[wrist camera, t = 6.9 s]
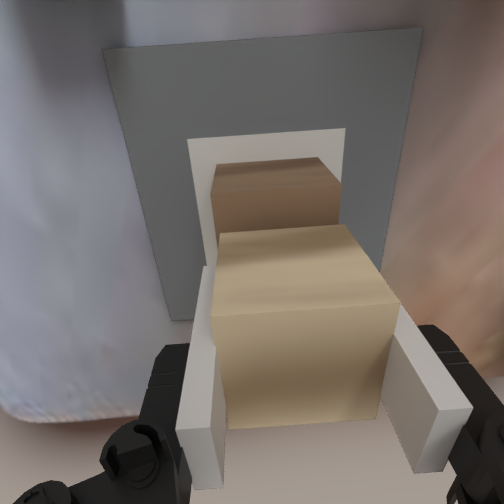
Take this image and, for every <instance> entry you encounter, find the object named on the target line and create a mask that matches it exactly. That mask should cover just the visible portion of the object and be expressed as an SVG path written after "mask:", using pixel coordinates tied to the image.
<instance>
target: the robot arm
mask: <svg viewBox="0 0 504 504" xmlns="http://www.w3.org/2000/svg"><path fill="white" fill-rule="evenodd" d="M366 255H367V254H366ZM368 258H369V257H368ZM369 259H370V258H369ZM371 262H372V261H371ZM373 265H374V264H373ZM376 269H377V268H376ZM215 272H216V265H212V266H203V272H202V278H201V283H200V289H199V295H198V301H197V307H196V312H195V318H194V324H193V330H192V336H191V341H190V343H186V344H172V345H165V347H164V348H163V349H162V350H161V352H160V353H159V354H158V356H157V357H156V359H155V362H154V366H153V369H152V373H151V374H152V375H151V376H150V380H149V383H148V389H147V390H146V394H145V397H144V401H143V405H142V408H141V412H140V415H139V419H138V420H133V421H132V422H129V423H127V424H125V425H123V426H121V427H120V428H119V429H118V430H117V431H116V432H115V433H113V434H112V435H111V437H110V438H109V440H108V441H107V442H106V444H105V445H104V447H103V450H102V453H101V456H100V460H99V461H100V463H101V465H102V466H103V468H104V470H105V471H104V472H102V473H101V474H99V475H96V476H94V477H92V478H89V479H87V480H85V481H82V482H80V483H78V484H75V485H73V486H70V487H67V486H66V485H65V484H64V483H63V482H60V481H53V480H50V481H47V482H43V483H40V484H37V485H36V486H34V487H33V488H31V489H29V490H28V491H26V492H24V493H23V495H21V496H20V497H19V498H18V499H17V500H16V501H15V502H14V503H13V504H189V502H190V492H191V484H193V487H194V490H203V489H216V488H223V482H224V453H225V423H226V404H225V397H224V391H223V385H222V379H221V373H220V366H219V360H218V354H217V348H216V346H215V343H214V337H213V331H212V325H211V319H210V314H211V305H212V297H213V289H214V280H215ZM378 272H379V271H378ZM380 397H381V399H382V402H383V404H384V406H385V409H386V411H387V413H388V415H389V418H390V420H391V422H392V425H393V427H394V429H395V432H396V434H397V436H398V438H399V441H400V443H401V445H402V447H403V450H404V452H405V454H406V457H407V459H408V461H409V464H410V466H411V468H412V470H413V473H414V474H415V473H429V472H442V471H443V470H444V468H445V466H446V464H447V461H448V460H449V461H450V463H451V465H452V467H453V469H454V471H455V473H456V474H457V476H456V478H455V480H454V482H453V484H452V486H451V487H450V489H449V492H448V494H447V504H454V503H455V501H456V500H458V504H504V405H503V404H502V403H501V401H500V400H499V399H498V397H497V396H496V395H495V394H494V392H493V391H492V390H491V389H490V387H489V386H488V385H487V384H486V382H485V381H484V380H483V379H482V377H481V376H480V375H479V373H478V372H477V371H476V370H475V368H474V367H473V366H472V365H471V364H469V361H468V360H467V358H466V357H465V356H464V355H463V353H462V352H460V349H459V348H458V347H457V346H456V344H455V343H454V342H453V341H452V339H451V338H450V337H449V336H448V335H447V334H445V333H444V332H443V331H441V330H440V329H439V328H437V327H436V326H434V325H420V326H416V324H415V323H414V322H413V320H412V319H411V317H410V316H409V314H408V313H407V312H406V310H405V309H404V307H403V306H402V304H401V305H400V309H399V314H398V319H397V323H396V328H395V332H394V334H393V338H392V343H391V348H390V352H389V357H388V362H387V366H386V371H385V375H384V380H383V385H382V389H381V394H380Z"/></svg>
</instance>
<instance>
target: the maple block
mask: <svg viewBox="0 0 504 504" xmlns="http://www.w3.org/2000/svg"><path fill="white" fill-rule="evenodd" d="M400 305H401V302H400V301H399V300H398V298H397V297H396V295H395V294H394V293H393V291H392V290H391V288H390V287H389V286H388V284H387V283H386V281H385V280H384V279H383V277H382V276H381V274H380V273H379V272H378V270H377V269H376V267H375V266H374V265H373V263H372V262H371V260H370V259H369V258H368V256H367V255H366V253H365V252H364V251H363V249H362V248H361V246H360V245H359V244H358V242H357V241H356V239H355V238H354V237H353V235H352V234H351V232H350V231H349V230H348V228H347V227H346V225H345V224H341V225H327V226H313V227H299V228H285V229H271V230H258V231H244V232H230V233H220V238H219V246H218V255H217V263H216V272H215V280H214V289H213V297H212V305H211V314H210V319H211V325H212V331H213V337H214V343H215V346H216V348H217V354H218V360H219V366H220V373H221V379H222V385H223V391H224V397H225V404H226V416H227V422H228V428H229V430H235V429H248V428H261V427H262V428H263V427H274V426H275V427H276V426H290V425H303V424H317V423H331V422H344V421H358V420H372V419H376V416H377V411H378V406H379V401H380V394H381V389H382V385H383V380H384V375H385V371H386V366H387V362H388V357H389V352H390V348H391V343H392V338H393V334H394V332H395V328H396V323H397V319H398V314H399V309H400Z"/></svg>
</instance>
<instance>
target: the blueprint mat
mask: <svg viewBox="0 0 504 504" xmlns="http://www.w3.org/2000/svg"><path fill="white" fill-rule="evenodd" d="M422 33H423V27H420V28H405V29H391V30H376V31H362V32H347V33H333V34H318V35H303V36H289V37H274V38H260V39H245V40H231V41H216V42H202V43H187V44H172V45H158V46H143V47H129V48H114V49H102V52H103V56H104V60H105V64H106V68H107V72H108V76H109V80H110V84H111V87H112V91H113V95H114V99H115V103H116V107H117V111H118V115H119V119H120V123H121V127H122V131H123V134H124V138H125V142H126V146H127V150H128V154H129V158H130V162H131V166H132V170H133V174H134V178H135V181H136V185H137V189H138V193H139V197H140V201H141V205H142V209H143V213H144V217H145V221H146V225H147V228H148V232H149V236H150V240H151V244H152V248H153V252H154V256H155V260H156V264H157V268H158V272H159V275H160V279H161V283H162V287H163V291H164V295H165V299H166V303H167V307H168V311H169V315H170V319H171V321H176V320H190V319H194V318H195V312H196V307H197V301H198V295H199V289H200V283H201V278H202V272H203V266H212V265H216V263H217V255H218V249H217V241H216V234H215V226H214V219H213V211H212V204H211V196H210V192H211V187H212V183H213V178H214V174H215V169H216V164H226V163H240V162H254V161H269V160H283V159H297V158H311V157H318V158H319V159H320V160H321V161H322V162H323V163H324V165H325V166H326V167H327V168H328V169H329V170H330V171H331V172H332V174H333V175H334V176H335V177H336V178H337V179H338V180H339V181H340V183H341V184H342V191H341V202H340V213H339V224H338V225H341V224H345V225H346V227H347V228H348V230H349V231H350V232H351V234H352V235H353V237H354V238H355V239H356V241H357V242H358V244H359V245H360V246H361V248H362V249H363V251H364V252H365V253H366V254H367V256H368V257H369V258H370V260H371V261H372V263H373V264H374V266H375V267H376V268H377V270H378V271H379V273H380V267H381V262H382V256H383V251H384V245H385V239H386V234H387V228H388V223H389V217H390V211H391V206H392V200H393V195H394V189H395V184H396V178H397V172H398V167H399V161H400V156H401V150H402V144H403V139H404V133H405V128H406V122H407V117H408V111H409V105H410V100H411V94H412V89H413V83H414V77H415V72H416V66H417V61H418V55H419V50H420V44H421V38H422Z"/></svg>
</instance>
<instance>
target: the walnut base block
mask: <svg viewBox="0 0 504 504" xmlns="http://www.w3.org/2000/svg"><path fill="white" fill-rule="evenodd" d="M341 191H342V184H341V183H340V181H339V180H338V179H337V178H336V177H335V176H334V175H333V174H332V172H331V171H330V170H329V169H328V168H327V167H326V166H325V165H324V163H323V162H322V161H321V160H320V159H319V158H318V157H311V158H297V159H283V160H269V161H254V162H240V163H226V164H216V169H215V174H214V178H213V183H212V187H211V192H210V196H211V204H212V211H213V219H214V226H215V234H216V241H217V249H218V246H219V238H220V233H230V232H244V231H258V230H271V229H285V228H299V227H313V226H327V225H338V224H339V213H340V202H341Z"/></svg>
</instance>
